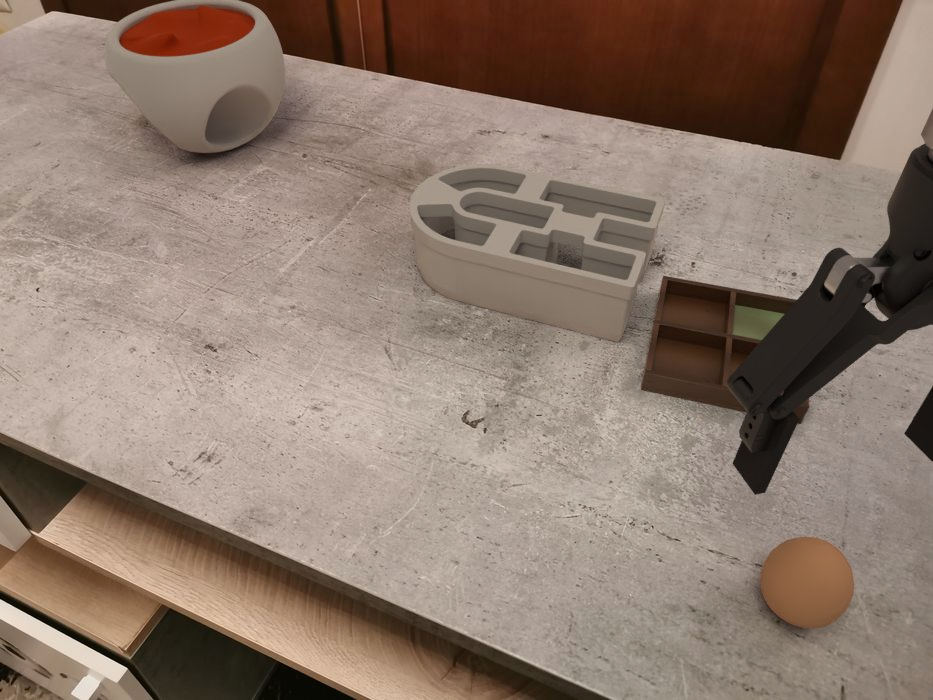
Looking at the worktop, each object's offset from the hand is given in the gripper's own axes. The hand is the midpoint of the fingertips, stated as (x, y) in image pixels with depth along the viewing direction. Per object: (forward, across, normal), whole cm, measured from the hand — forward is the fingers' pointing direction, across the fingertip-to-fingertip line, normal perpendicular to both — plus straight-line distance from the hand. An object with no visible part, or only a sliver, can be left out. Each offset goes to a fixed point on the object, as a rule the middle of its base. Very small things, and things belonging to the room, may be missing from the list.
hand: (837, 462), depth 49 cm
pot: (+12, +42, -88) cm, 98 cm away
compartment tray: (+13, -11, -26) cm, 31 cm away
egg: (+17, -2, 0) cm, 17 cm away
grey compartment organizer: (+13, +6, -45) cm, 47 cm away
